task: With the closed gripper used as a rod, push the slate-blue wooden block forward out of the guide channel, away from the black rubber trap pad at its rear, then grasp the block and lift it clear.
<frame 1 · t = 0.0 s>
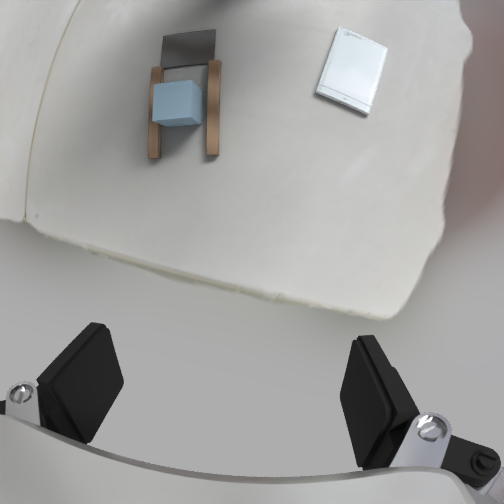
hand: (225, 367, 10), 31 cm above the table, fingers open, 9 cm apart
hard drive: (351, 70, 34), on the table
guide channel: (184, 108, 36), on the table
block: (184, 109, 36), on the table
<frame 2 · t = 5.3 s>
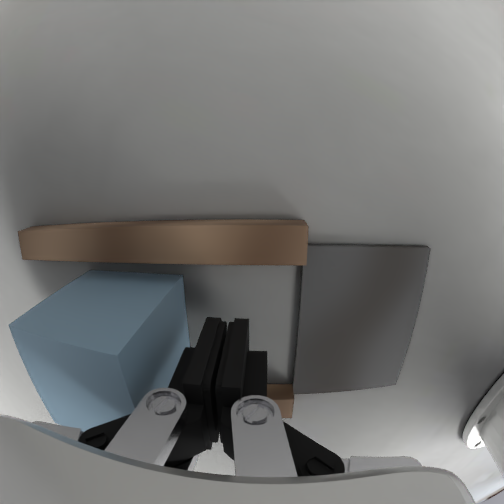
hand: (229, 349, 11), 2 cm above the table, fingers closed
guide channel: (151, 323, 13), on the table
block: (140, 319, 13), on the table, touching gripper
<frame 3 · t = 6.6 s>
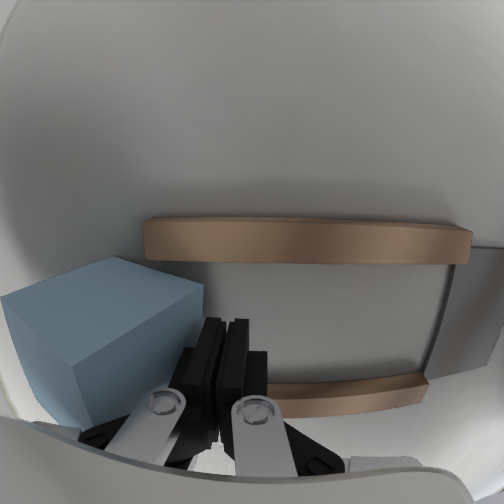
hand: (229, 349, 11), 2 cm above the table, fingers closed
guide channel: (314, 327, 13), on the table
block: (154, 321, 12), point 1 cm above the table, tilted 19°, touching gripper
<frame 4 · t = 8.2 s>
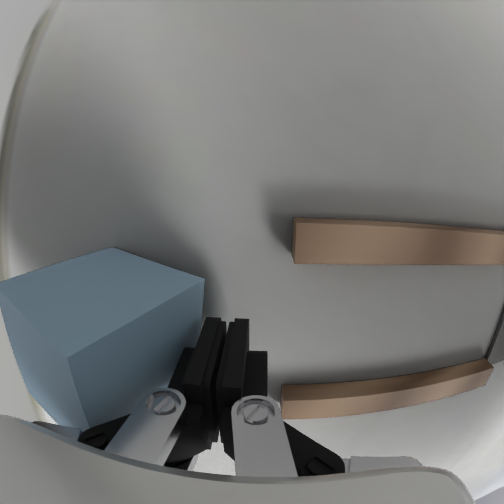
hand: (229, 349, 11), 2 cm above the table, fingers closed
guide channel: (421, 322, 12), on the table
block: (152, 315, 12), point 1 cm above the table, tilted 20°, touching gripper
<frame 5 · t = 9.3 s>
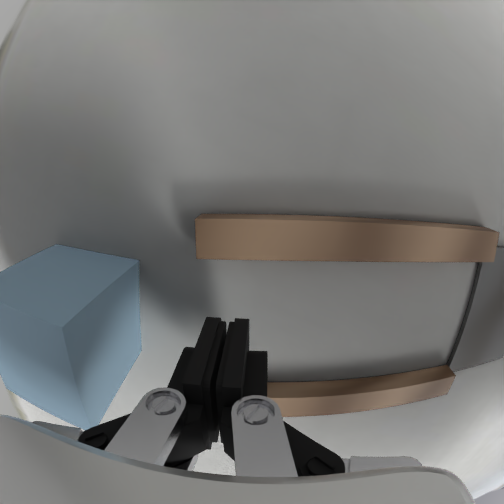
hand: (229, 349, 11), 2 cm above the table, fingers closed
guide channel: (357, 324, 12), on the table
block: (96, 298, 13), on the table
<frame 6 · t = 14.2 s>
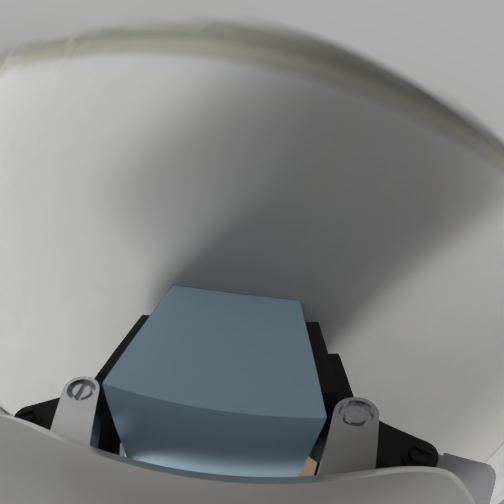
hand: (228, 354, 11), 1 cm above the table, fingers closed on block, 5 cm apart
block: (230, 345, 12), on the table, touching gripper
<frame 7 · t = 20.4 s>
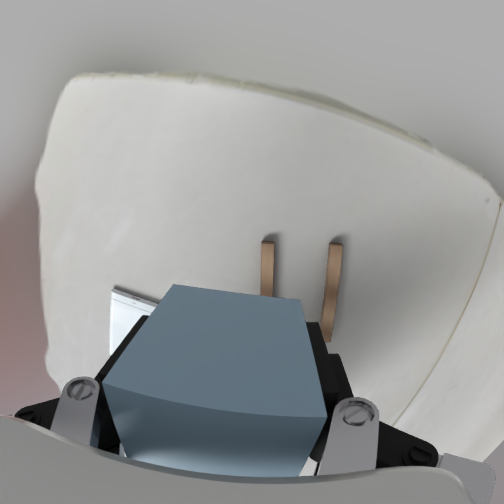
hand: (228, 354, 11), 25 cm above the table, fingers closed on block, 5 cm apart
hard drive: (135, 328, 41), on the table
guide channel: (298, 293, 37), on the table
block: (230, 345, 12), point 24 cm above the table, touching gripper
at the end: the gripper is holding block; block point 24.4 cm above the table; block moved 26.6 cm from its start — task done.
